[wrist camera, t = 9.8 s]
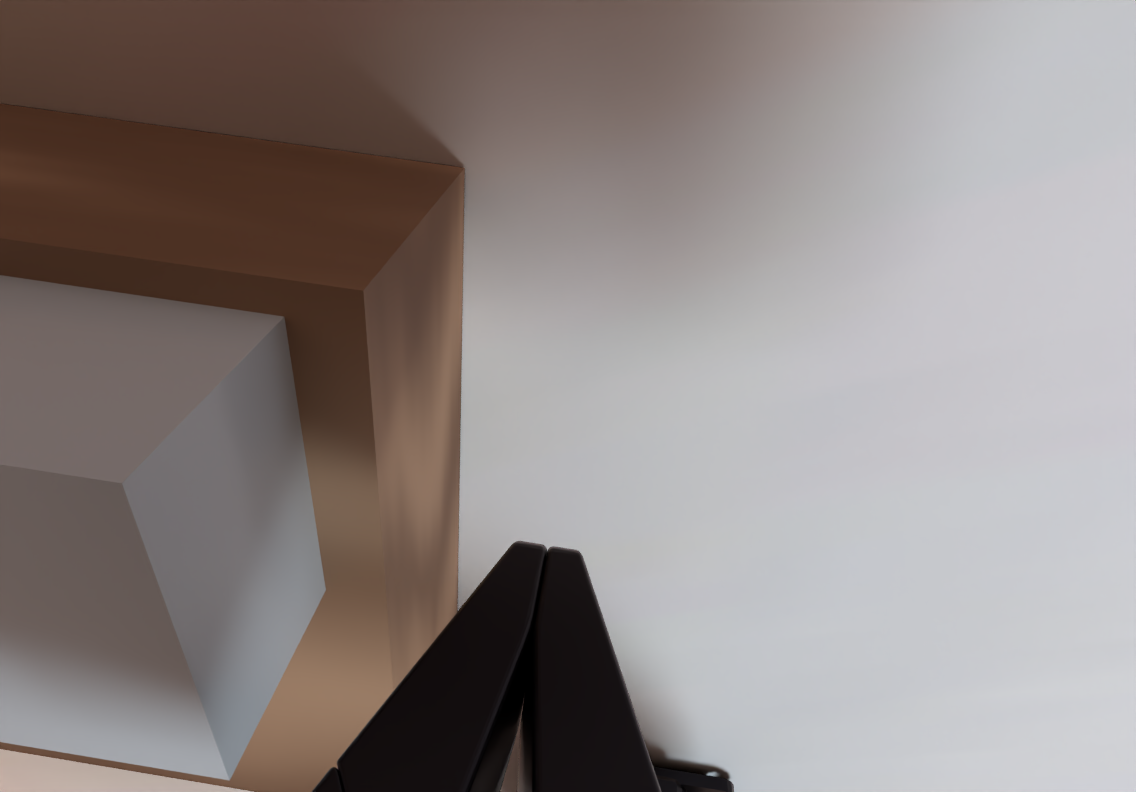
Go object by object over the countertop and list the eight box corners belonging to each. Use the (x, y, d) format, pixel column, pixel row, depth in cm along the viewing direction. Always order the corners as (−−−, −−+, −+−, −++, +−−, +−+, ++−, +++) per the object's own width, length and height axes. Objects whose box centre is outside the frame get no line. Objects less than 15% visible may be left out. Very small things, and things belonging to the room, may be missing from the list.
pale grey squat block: (326, 589, 11) (229, 780, 8) (27, 542, 11) (-153, 716, 9) (284, 316, 8) (121, 482, 6) (-117, 258, 8) (-445, 396, 6)
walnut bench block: (457, 628, 19) (402, 816, 15) (49, 563, 20) (-112, 730, 16) (464, 168, 12) (363, 290, 8) (-190, 77, 12) (-614, 149, 8)
